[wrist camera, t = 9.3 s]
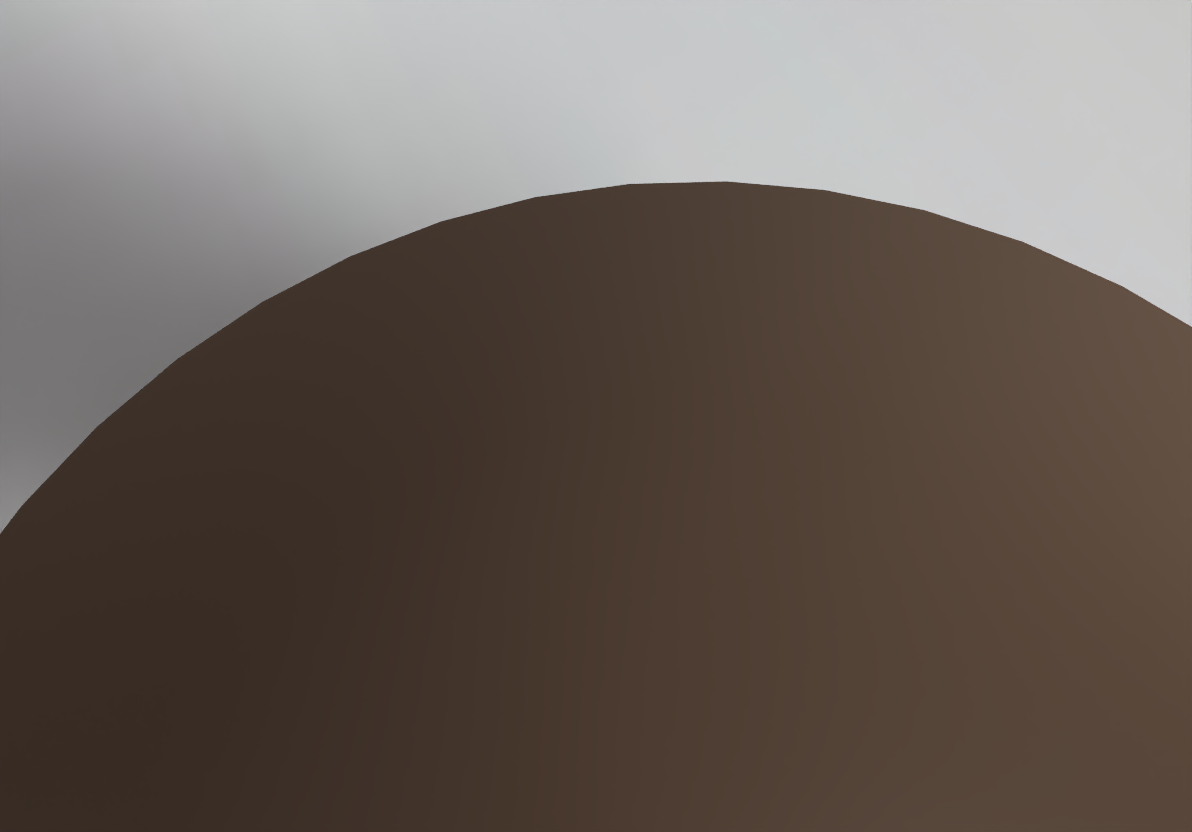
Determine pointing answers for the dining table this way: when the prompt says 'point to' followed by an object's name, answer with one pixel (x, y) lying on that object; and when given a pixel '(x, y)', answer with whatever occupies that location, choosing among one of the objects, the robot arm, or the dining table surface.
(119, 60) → the dining table surface
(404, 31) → the dining table surface
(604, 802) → the canister
